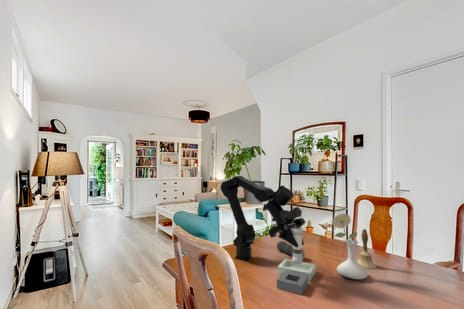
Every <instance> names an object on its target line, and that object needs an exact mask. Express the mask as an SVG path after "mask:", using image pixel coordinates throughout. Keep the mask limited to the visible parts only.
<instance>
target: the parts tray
mask: <svg viewBox="0 0 464 309" xmlns="http://www.w3.org/2000/svg"><path fill="white" fill-rule="evenodd" d="M316 268H317V264H315V263H311V262H310V263H309V262H304V261H302V263H301V264H296V263H293V262H292V259H289V258H285V259H284V260H283V261H282V262H280V263H279V265H277V275H280V276H281V275H282V274H283V272H284V271H288V272H293V273H297V274H301V275H305V276H308V283H309V282H311V281H312V279H313V277H314V276H315V274H316V273H317V272H316V271H317V269H316Z"/></svg>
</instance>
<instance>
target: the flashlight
mask: <svg viewBox="0 0 464 309" xmlns="http://www.w3.org/2000/svg"><path fill="white" fill-rule="evenodd" d="M276 248H277V250H278V251H279V252H281V253H284V254H288V255H289V257H290V256H291V257H292V256H293V245H292V244H290V243H288V242H287V241H284V240H283V241H282V240H280V241H278V242H277V244H276ZM305 255H306V251H305V249H303V248H302V260H303V259H305Z"/></svg>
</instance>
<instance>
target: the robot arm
mask: <svg viewBox="0 0 464 309" xmlns="http://www.w3.org/2000/svg"><path fill="white" fill-rule="evenodd" d="M219 187H220V190H221V193H222V195H223V196H224V197H225V198H226V199H228V200H227V201H228V203H229V207H230V209H231V212H232V216H233V217H234V220H235V223H236V233H235V234H236V237H235V238H234V239H233V241H232V242H233V246H235V248H236V253H235V255H236V256H234V258H235V259H237V260H241V261H245V262H247V261H248V260H250V259H251V258H252V257H253V254H252V250H253V249H252V248H251V247H252V246H251V245H253V244H254V241H255V239H256V231H255V228H254V226H253V224H249V223H248V221H247V219H246V217H245V214H244V211H243V207H242V205H241V203H240V200H239V197H238V193H239V188H240V187H241V188H242V189H244V190H246V191H248V192H249V193H250V194H252V195H253V197H254V198H255V199H256V200H257V201H258V202H260V203H264V202H265V204H263V207H262V211H263V212H264V211H267V212H269V214H270V215H271V221H272V222H275V223H274V224H273V226H271V228H269V230H268V235H269V237H270V238H271V239H272V238H275V237H276V236H277V233H278V234H279V235H278V236H277V237H278V238H280V239H282V240H283V241H284V242H286V243H288V244H289V245H291V246H295V247H296V248H297V247H298V244H297V242H296V240H295V238H294V237H293V234H292V228H293V227H299V228H302V226H303V225H305V223H306V220H305V219H304V217H303V218H302V214H303V213H302V212H303V210H301V208H299V206H296V207H293V208H292V210H289V211H288V210H287V209H286V210H285V209H284V208H283V207H285V206H286V205H287V204H288V203H289V202H290V201H291V200H292V199H293V198H294V193H293V191H292V190H291V189H289V188H288V187H285V186H284V185H280V186H279V187H278V189H277V190H276V191H275V190H273V188H271V187H266V186H261V185H259V184H257V183H254V182H253V181H250V180H249V179H247V178H245V177H244V176H243V175H235V176H233V177H231V178H229V179H227V180H224V181H222V183H220V186H219ZM266 202H267V203H266ZM304 244H305V243H304V239H303V238H302V246H304Z"/></svg>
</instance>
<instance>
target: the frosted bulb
mask: <svg viewBox="0 0 464 309" xmlns="http://www.w3.org/2000/svg"><path fill="white" fill-rule="evenodd" d="M292 234H293V237H294V238H295V240H296V242H297V244H298V247H297V248H296V247H295V246H293V245H292V246H293V256H291V257H292V258H291V260H292V262H293V263H296V264H301V263H302V262H303V259H302V249H303V245H302V239H303V228H302V227H300V228H299V227H293V228H292Z"/></svg>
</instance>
